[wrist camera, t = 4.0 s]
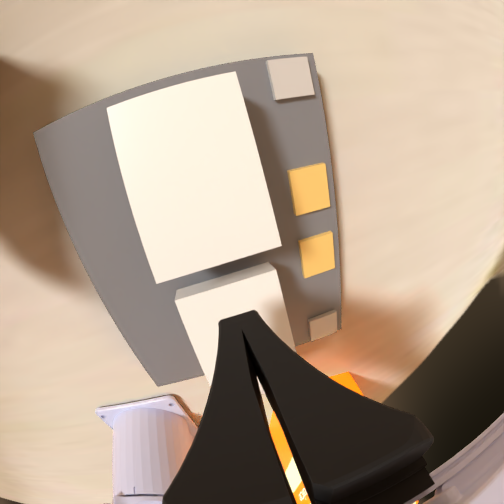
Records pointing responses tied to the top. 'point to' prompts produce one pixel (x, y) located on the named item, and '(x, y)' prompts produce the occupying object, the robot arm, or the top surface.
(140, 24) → the top surface
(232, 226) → the plate
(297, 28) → the top surface
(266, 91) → the switch board
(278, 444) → the orange juice
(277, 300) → the rocker
